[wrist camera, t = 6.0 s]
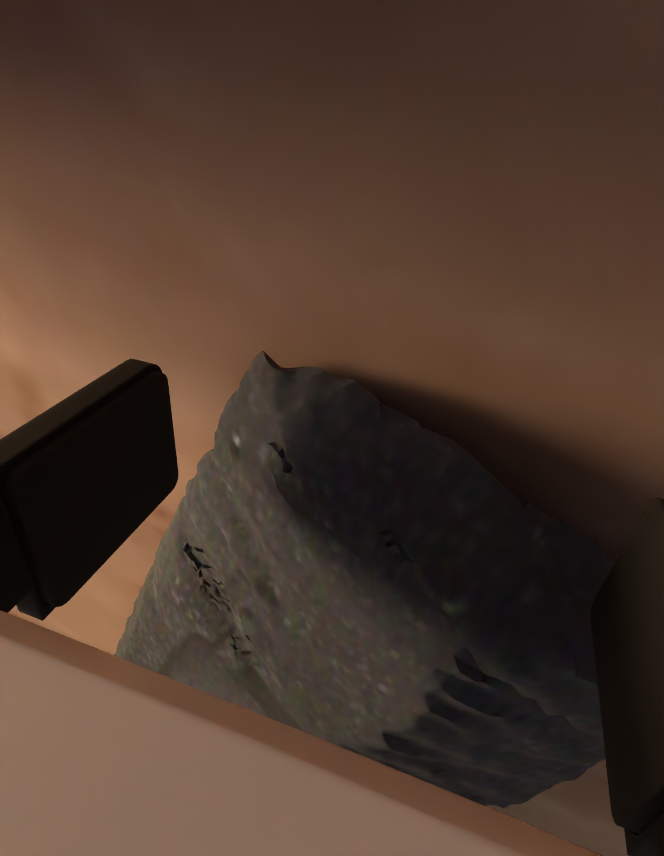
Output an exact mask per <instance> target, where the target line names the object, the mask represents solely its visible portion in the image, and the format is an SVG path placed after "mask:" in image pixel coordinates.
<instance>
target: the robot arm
mask: <svg viewBox="0 0 664 856" xmlns="http://www.w3.org/2000/svg"><path fill="white" fill-rule="evenodd" d="M177 480H178V466H177V457H176V448H175V439H174V430H173V421H172V413H171V404H170V395H169V386H168V379H167V377H166V375H165V374H163V373H162V370H161V369H160V367H159V366H157V365H156V364H152V363H147V362H143V361H139V360H135V359H129V360H126V361H125V362H123V363H122V364H120V365H118V366H117V367H115V368H114V369H112V370H110V371H109V372H107V373H106V374H104V375H102V376H101V377H99V378H98V379H96V380H94V381H93V382H91V383H90V384H88V385H86V386H85V387H83V388H82V389H80V390H78V391H77V392H75V393H74V394H72V395H70V396H69V397H67V398H66V399H64V400H63V401H61V402H59V403H58V404H56V405H55V406H53V407H51V408H50V409H48V410H47V411H45V412H43V413H42V414H40V415H39V416H37V417H35V418H34V419H32V420H31V421H29V422H27V423H26V424H24V425H23V426H21V427H19V428H18V429H16V430H15V431H13V432H11V433H10V434H8V435H7V436H5V437H3V438H2V439H0V856H602V855H599V854H597V853H595V852H592V851H590V850H588V849H585V848H583V847H581V846H578V845H576V844H574V843H571V842H569V841H567V840H564V839H562V838H560V837H557V836H555V835H553V834H550V833H548V832H546V831H543V830H541V829H539V828H536V827H534V826H532V825H529V824H527V823H525V822H522V821H520V820H518V819H515V818H513V817H511V816H508V815H506V814H503V813H501V812H499V811H496V810H494V809H491V808H489V807H486V806H484V805H481V804H479V803H477V802H474V801H472V800H469V799H467V798H464V797H462V796H459V795H457V794H455V793H452V792H450V791H447V790H445V789H442V788H440V787H437V786H435V785H433V784H430V783H428V782H425V781H423V780H420V779H418V778H415V777H413V776H411V775H408V774H406V773H403V772H401V771H398V770H396V769H393V768H391V767H389V766H386V765H384V764H381V763H379V762H376V761H374V760H371V759H369V758H367V757H364V756H362V755H359V754H357V753H354V752H352V751H350V750H347V749H345V748H342V747H340V746H337V745H335V744H332V743H330V742H328V741H325V740H323V739H320V738H318V737H315V736H313V735H310V734H308V733H305V732H303V731H300V730H298V729H295V728H293V727H290V726H288V725H286V724H283V723H281V722H278V721H276V720H273V719H271V718H268V717H266V716H263V715H261V714H258V713H256V712H253V711H251V710H248V709H246V708H243V707H241V706H239V705H236V704H234V703H231V702H229V701H226V700H224V699H221V698H219V697H216V696H214V695H211V694H209V693H206V692H204V691H201V690H199V689H196V688H194V687H191V686H189V685H186V684H184V683H181V682H179V681H177V680H174V679H172V678H169V677H167V676H164V675H162V674H159V673H157V672H154V671H152V670H149V669H147V668H144V667H142V666H139V665H137V664H134V663H132V662H129V661H127V660H124V659H122V658H119V657H117V656H114V655H112V654H109V653H107V652H104V651H102V650H99V649H96V648H94V647H91V646H89V645H86V644H84V643H81V642H79V641H76V640H74V639H71V638H69V637H66V636H64V635H61V634H59V633H56V632H54V631H51V630H49V629H46V628H44V627H41V626H39V625H36V624H34V623H31V622H28V621H26V620H23V619H21V618H18V617H16V616H13V615H11V614H8V612H9V611H10V610H11V609H12V608H13V607H14V606H15V605H17V608H18V610H19V611H20V612H22V613H25V614H27V615H30V616H32V617H35V618H37V619H40V620H42V621H43V620H44V619H45V618H46V617H47V616H48V615H49V614H50V613H51V612H52V610H53V609H54V608H55V607H59V606H62V605H64V604H66V603H67V602H68V601H69V600H70V599H71V598H72V597H73V596H74V595H75V594H76V593H77V591H78V590H79V589H80V588H81V587H82V586H83V585H84V584H85V583H86V582H87V581H88V580H89V579H90V578H91V577H92V576H93V574H94V573H95V572H96V571H97V570H98V569H99V568H100V567H101V566H102V565H103V564H104V563H105V562H106V561H107V560H108V558H109V557H110V556H111V555H112V554H113V553H114V552H115V551H116V550H117V549H118V548H119V547H120V546H121V545H122V544H123V542H124V541H125V540H126V539H127V538H128V537H129V536H130V535H131V534H132V533H133V532H134V531H135V530H136V529H137V528H138V526H139V525H140V524H141V523H142V522H143V521H144V520H145V519H146V518H147V517H148V516H149V515H150V514H151V513H152V512H153V511H154V509H155V508H156V507H157V506H158V505H159V504H160V503H161V502H162V501H163V500H164V499H165V498H166V497H167V496H168V495H169V493H170V492H171V491H172V490H173V489H174V487H175V485H176V483H177ZM590 621H591V630H592V639H593V648H594V657H595V666H596V676H597V685H598V694H599V703H600V712H601V721H602V731H603V740H604V749H605V758H606V767H607V776H608V786H609V795H610V804H611V811H612V816H613V819H614V822H615V823H616V825H618V826H620V827H623V828H624V830H625V838H626V846H627V854H628V855H629V856H664V499H659V498H655V499H653V500H652V501H651V502H650V504H649V505H648V507H647V509H646V511H645V512H644V514H643V516H642V517H641V519H640V521H639V523H638V524H637V526H636V528H635V529H634V531H633V533H632V535H631V536H630V538H629V540H628V542H627V543H626V545H625V547H624V548H623V550H622V552H621V554H620V555H619V557H618V559H617V560H616V562H615V564H614V566H613V567H612V569H611V571H610V573H609V574H608V576H607V578H606V579H605V581H604V583H603V585H602V586H601V588H600V590H599V591H598V593H597V595H596V597H595V599H594V601H593V604H592V607H591V614H590Z"/></svg>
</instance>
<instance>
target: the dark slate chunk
mask: <svg viewBox="0 0 664 856" xmlns="http://www.w3.org/2000/svg"><path fill="white" fill-rule="evenodd" d="M613 566H614V563H612V562H611V561H610V560H609V559H608V558H607V556H606V555H605V554H604V553H603V551H602V550H601V549H600V548H599V546H598V545H597V544H596V543H595V542H594V540H593V539H592V538H590V537H588V536H579V535H578V534H577V533H576V532H575V531H573V530H572V529H571V528H570V527H569V526H568V525H567V524H565V523H564V522H563V521H561V520H559V519H557V518H554V517H552V516H550V515H548V514H545V513H544V512H542V511H540V510H539V509H537V508H536V507H535V506H534V505H533V504H531V503H530V502H522V503H520V501H519V500H518V499H517V497H516V496H515V495H514V494H513V493H512V492H510V491H509V490H508V489H507V488H506V487H505V486H504V485H503V484H502V483H500V482H499V481H498V480H497V479H496V478H495V477H494V476H493V475H492V474H491V473H490V472H489V471H488V470H487V469H486V468H485V467H484V466H483V465H482V464H481V463H480V462H479V461H478V460H477V459H476V458H475V457H473V456H472V455H471V454H470V453H469V452H468V451H467V450H466V449H464V448H463V447H462V446H461V445H459V444H458V443H457V442H455V441H453V440H452V439H450V438H447V437H445V436H442V435H440V434H438V433H436V432H433V431H431V430H428V429H425V428H422V427H421V425H420V424H419V422H418V421H416V420H414V419H412V418H410V417H409V416H407V415H405V414H404V413H402V412H400V411H397V410H394V409H391V408H389V407H387V406H385V405H383V404H381V403H380V402H379V400H378V399H377V397H376V396H374V395H373V394H372V393H371V392H369V391H368V390H367V389H365V388H364V387H363V386H361V385H360V384H359V383H357V382H356V381H355V380H353V379H342V378H337V377H334V376H332V375H330V374H329V373H327V372H326V371H324V370H322V369H320V368H316V367H298V368H281V367H280V366H279V365H277V364H276V363H275V362H274V361H273V360H272V359H271V358H270V357H269V356H268V355H267V354H266V353H265V352H264V351H262V352H261V353H260V354H258V355H257V356H256V357H255V359H254V360H253V362H252V364H251V367H250V368H249V369H248V371H247V372H246V373H245V375H244V377H243V378H242V380H241V383H240V388H239V389H238V390H237V391H236V392H235V393H234V394H233V395H232V396H231V397H230V398H229V400H228V401H227V403H226V405H225V407H224V410H223V412H222V415H221V418H220V421H219V424H218V428H217V431H216V432H215V447H214V449H213V450H210V451H208V452H207V453H206V454H204V455H203V456H202V458H201V459H200V460H199V462H198V465H197V475H196V476H195V477H194V478H192V479H191V480H189V481H188V483H187V486H186V496H184V498H183V499H182V500H181V502H180V504H179V506H178V508H177V510H176V513H175V515H174V518H173V520H172V522H171V524H170V525H169V527H168V528H167V530H166V532H165V534H164V536H163V539H162V540H161V541H160V544H159V547H158V550H157V553H156V558H155V561H154V565H153V566H152V567H151V569H150V571H149V573H148V575H147V577H146V580H145V583H144V585H143V586H142V588H141V589H140V594H139V596H138V597H137V599H136V601H135V604H134V610H133V614H132V615H131V616H130V617H128V619H127V623H126V628H125V631H124V634H123V637H122V638H121V639H120V640H119V643H118V646H117V651H116V653H115V655H114V656H117V657H119V658H122V659H124V660H127V661H129V662H132V663H134V664H137V665H139V666H142V667H144V668H147V669H149V670H152V671H154V672H157V673H159V674H162V675H164V676H167V677H169V678H172V679H174V680H177V681H179V682H181V683H184V684H186V685H189V686H191V687H194V688H196V689H199V690H201V691H204V692H206V693H209V694H211V695H214V696H216V697H219V698H221V699H224V700H226V701H229V702H231V703H234V704H236V705H239V706H241V707H243V708H246V709H248V710H251V711H253V712H256V713H258V714H261V715H263V716H266V717H268V718H271V719H273V720H276V721H278V722H281V723H283V724H286V725H288V726H290V727H293V728H295V729H298V730H300V731H303V732H305V733H308V734H310V735H313V736H315V737H318V738H320V739H323V740H325V741H328V742H330V743H332V744H335V745H337V746H340V747H342V748H345V749H347V750H350V751H352V752H354V753H357V754H359V755H362V756H364V757H367V758H369V759H371V760H374V761H376V762H379V763H381V764H384V765H386V766H389V767H391V768H393V769H396V770H398V771H401V772H403V773H406V774H408V775H411V776H413V777H415V778H418V779H420V780H423V781H425V782H428V783H430V784H433V785H435V786H437V787H440V788H442V789H445V790H447V791H450V792H452V793H455V794H457V795H459V796H462V797H464V798H467V799H469V800H472V801H474V802H477V803H479V804H481V805H496V806H500V807H502V808H505V807H507V806H509V805H512V804H521V803H524V802H526V801H528V800H530V799H531V798H533V797H534V796H536V795H537V794H539V793H541V792H543V791H544V790H546V789H549V788H551V787H553V786H554V785H555V784H558V783H560V782H562V781H569V780H575V779H577V778H579V777H580V776H581V775H582V774H583V773H584V772H585V771H586V770H587V769H588V768H590V767H592V766H594V765H595V764H597V763H598V762H599V761H601V760H603V759H605V749H604V740H603V731H602V721H601V712H600V703H599V694H598V685H597V676H596V666H595V657H594V648H593V639H592V630H591V621H590V614H591V607H592V604H593V601H594V599H595V597H596V595H597V593H598V591H599V590H600V588H601V586H602V585H603V583H604V581H605V579H606V578H607V576H608V574H609V573H610V571H611V569H612V567H613Z"/></svg>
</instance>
